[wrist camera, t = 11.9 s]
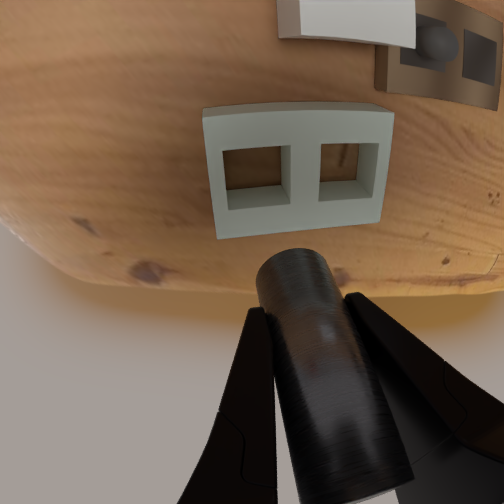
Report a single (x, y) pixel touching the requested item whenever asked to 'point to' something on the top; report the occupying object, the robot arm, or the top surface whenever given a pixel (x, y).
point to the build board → (298, 165)
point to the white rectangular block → (349, 21)
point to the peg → (327, 386)
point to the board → (452, 78)
